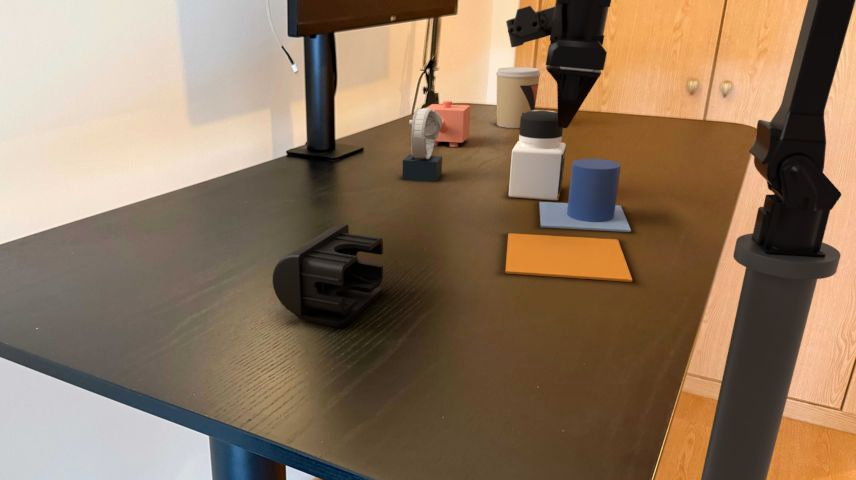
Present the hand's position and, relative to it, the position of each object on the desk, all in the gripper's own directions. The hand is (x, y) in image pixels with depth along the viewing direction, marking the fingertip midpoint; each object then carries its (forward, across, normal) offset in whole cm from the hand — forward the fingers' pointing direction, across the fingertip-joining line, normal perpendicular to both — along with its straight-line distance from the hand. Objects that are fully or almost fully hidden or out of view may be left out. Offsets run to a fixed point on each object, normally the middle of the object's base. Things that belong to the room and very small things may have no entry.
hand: (562, 121), depth 89 cm
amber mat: (+13, +13, +2) cm, 19 cm away
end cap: (+15, +32, -20) cm, 41 cm away
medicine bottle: (+14, -14, -2) cm, 19 cm away
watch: (+15, -20, -20) cm, 32 cm away
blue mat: (+13, -3, +5) cm, 14 cm away
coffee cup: (+14, -70, -8) cm, 72 cm away
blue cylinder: (+12, -3, +6) cm, 14 cm away
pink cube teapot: (+15, -47, -20) cm, 53 cm away
